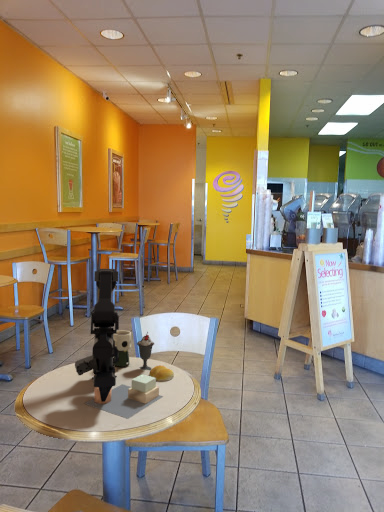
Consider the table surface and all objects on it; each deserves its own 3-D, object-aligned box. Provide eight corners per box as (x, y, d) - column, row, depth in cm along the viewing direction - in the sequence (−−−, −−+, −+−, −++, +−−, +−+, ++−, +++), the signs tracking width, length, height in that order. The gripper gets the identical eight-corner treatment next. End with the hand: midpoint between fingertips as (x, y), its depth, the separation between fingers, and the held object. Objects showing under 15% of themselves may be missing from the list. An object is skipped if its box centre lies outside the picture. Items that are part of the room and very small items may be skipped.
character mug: (119, 371, 152) (119, 337, 151) (104, 367, 156) (105, 334, 155) (137, 363, 161) (138, 331, 160) (123, 359, 165) (124, 328, 164)
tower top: (131, 388, 128) (131, 379, 128) (142, 383, 133) (142, 374, 133) (145, 392, 126) (145, 383, 125) (155, 387, 130) (156, 377, 130)
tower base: (127, 398, 128) (128, 389, 128) (141, 390, 134) (141, 381, 134) (145, 403, 125) (146, 394, 125) (158, 395, 131) (159, 386, 131)
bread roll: (160, 384, 142) (160, 373, 141) (146, 376, 148) (146, 365, 148) (178, 379, 147) (179, 368, 147) (164, 371, 154) (164, 361, 154)
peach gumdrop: (90, 401, 125) (90, 388, 125) (102, 395, 130) (102, 383, 130) (103, 405, 123) (103, 392, 123) (114, 399, 127) (115, 386, 127)
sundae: (146, 373, 151) (147, 334, 150) (132, 369, 154) (133, 330, 153) (157, 368, 156) (158, 330, 155) (143, 364, 160) (144, 327, 159)
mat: (84, 404, 124) (84, 403, 124) (122, 385, 139) (122, 384, 139) (127, 420, 115) (127, 418, 115) (163, 397, 131) (163, 396, 131)
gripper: (77, 341, 132) (76, 387, 133) (76, 360, 114) (75, 413, 115) (111, 339, 135) (110, 385, 136) (116, 358, 117) (115, 410, 118)
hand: (102, 397), depth 126 cm, fingers closed on peach gumdrop, 5 cm apart
